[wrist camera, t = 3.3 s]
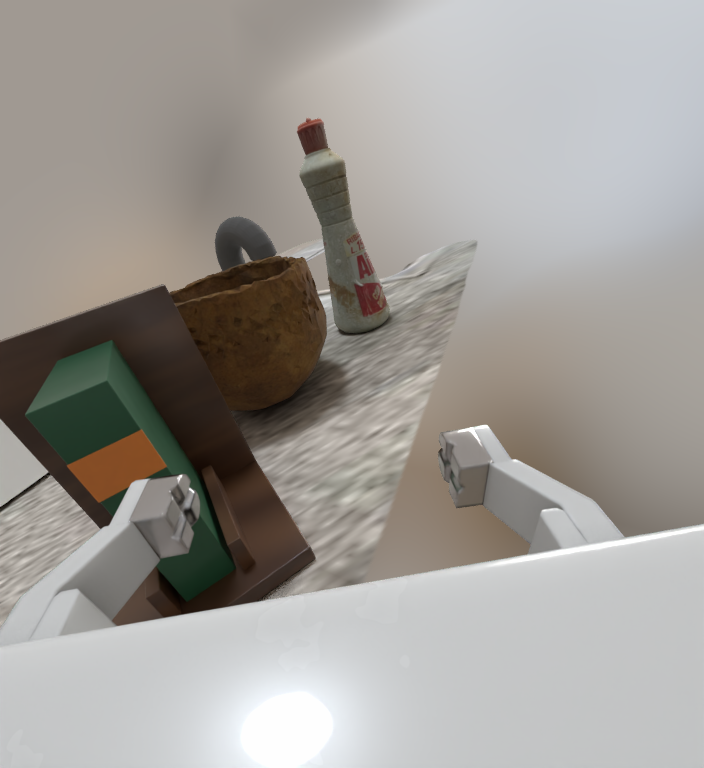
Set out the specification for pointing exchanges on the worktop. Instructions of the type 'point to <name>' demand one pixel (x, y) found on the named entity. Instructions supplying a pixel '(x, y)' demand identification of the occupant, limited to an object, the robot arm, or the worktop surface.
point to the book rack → (188, 425)
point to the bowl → (256, 329)
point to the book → (125, 451)
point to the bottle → (340, 236)
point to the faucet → (241, 242)
